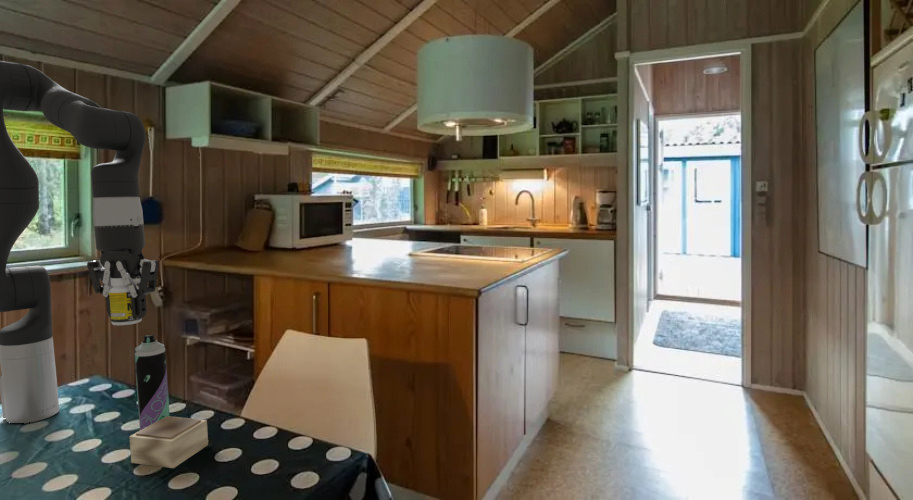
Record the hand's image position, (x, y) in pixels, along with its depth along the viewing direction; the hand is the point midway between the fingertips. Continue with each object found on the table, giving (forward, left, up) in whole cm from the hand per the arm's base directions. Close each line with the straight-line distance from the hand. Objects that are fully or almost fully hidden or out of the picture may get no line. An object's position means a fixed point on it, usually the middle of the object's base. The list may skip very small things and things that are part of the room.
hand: (127, 316), depth 96 cm
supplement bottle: (0, 0, -1) cm, 1 cm away
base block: (+6, +2, -26) cm, 27 cm away
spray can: (-5, +10, -27) cm, 29 cm away
